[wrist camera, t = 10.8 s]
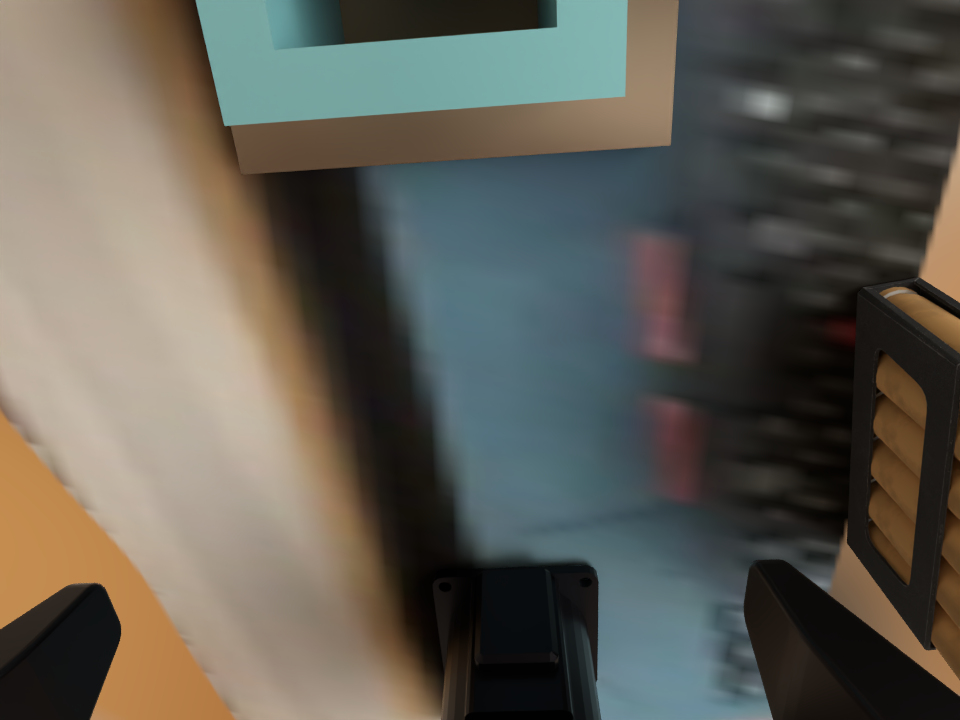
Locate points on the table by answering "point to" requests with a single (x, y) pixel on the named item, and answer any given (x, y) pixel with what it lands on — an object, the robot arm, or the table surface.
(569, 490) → the table surface
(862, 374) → the ammunition clip
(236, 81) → the collar
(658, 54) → the post base
